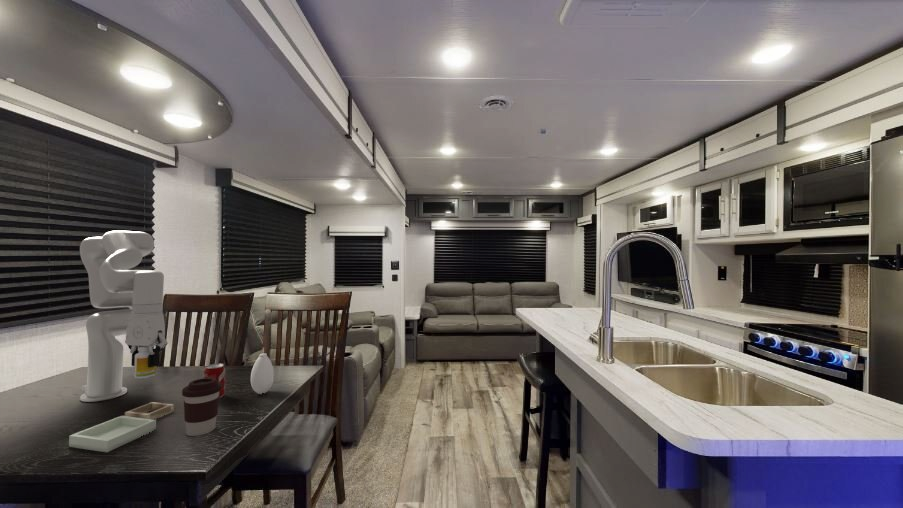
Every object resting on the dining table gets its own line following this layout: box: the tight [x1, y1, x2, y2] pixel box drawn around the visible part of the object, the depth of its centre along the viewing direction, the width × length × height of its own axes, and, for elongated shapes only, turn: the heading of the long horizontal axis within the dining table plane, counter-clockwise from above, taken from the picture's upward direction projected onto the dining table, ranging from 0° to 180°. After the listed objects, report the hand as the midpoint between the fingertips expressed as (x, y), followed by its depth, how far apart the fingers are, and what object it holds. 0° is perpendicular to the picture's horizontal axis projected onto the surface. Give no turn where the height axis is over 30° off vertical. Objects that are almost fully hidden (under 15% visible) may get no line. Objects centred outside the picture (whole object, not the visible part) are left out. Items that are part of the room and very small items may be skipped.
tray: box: [68, 415, 157, 453], centre depth 102 cm, size 13×13×3 cm
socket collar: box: [124, 401, 175, 420], centre depth 117 cm, size 9×9×2 cm
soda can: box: [203, 363, 226, 399], centre depth 133 cm, size 7×7×12 cm
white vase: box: [250, 347, 275, 395], centre depth 139 cm, size 8×8×18 cm
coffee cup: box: [181, 377, 222, 437], centre depth 108 cm, size 10×10×15 cm
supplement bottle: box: [133, 346, 157, 379], centre depth 114 cm, size 5×5×10 cm
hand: (145, 365), depth 114 cm, fingers closed on supplement bottle, 5 cm apart
